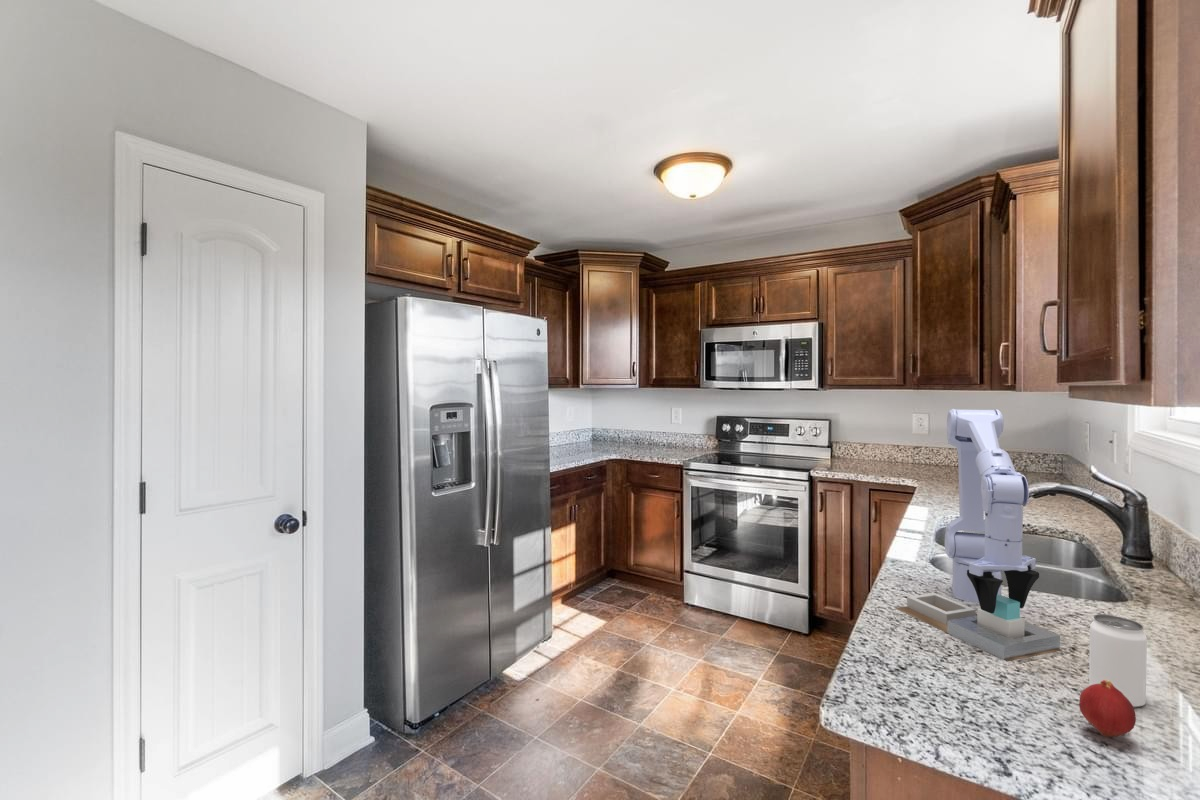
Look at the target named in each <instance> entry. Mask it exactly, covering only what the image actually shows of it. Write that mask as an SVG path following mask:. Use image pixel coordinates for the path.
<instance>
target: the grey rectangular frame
mask: <svg viewBox="0 0 1200 800" xmlns="http://www.w3.org/2000/svg"><path fill="white" fill-rule="evenodd" d="M906 598H907V599H906V600H907V602H906V606H907V607H908V608H911V609H913V610H915V611H917V612H919V613H921V614H924V615H926V616H928V617H930V618H932V619H934V620H937V621H939V622H941V623H943V624H945V625H947V620H952V619H959V618H965V617H971V616H976V614H977V610H976V608H972V607H971V606H968V605H966V604H963V603H961V602H958V601H956V600H953V599H950V598H948V597H945V596H943V595H941V594H938V593H936V592H931V593H926V594H918V595H911V596H907V597H906ZM933 605H936V606H938V607H940V608H943V609H945V610H947V612H946V611H944V610H942V609H939V608H937V607H935V606H933Z"/></svg>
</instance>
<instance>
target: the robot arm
mask: <svg viewBox="0 0 1200 800" xmlns="http://www.w3.org/2000/svg"><path fill="white" fill-rule="evenodd" d="M946 416H947V417H946V439H947V441H948V444H949V445H951V446H953V447H955V448H956V453H957V460H958V465H957V466H958V504H959V506H958V507H959V516H958V517H957V518H955V519H954V520H951V521H950V522H948V523H947V524H946V526H945V534H944V550H945V554H946V555H947V557H948V558H949V559H952V579H951V581H952V583H951V585H952V589H951V591H952V593H951V595H952V596H953V597H955V598H957V599H959V600H962V601H965V602H970V603H974V604H975V603H976V604H979V606H980V609H981V610H984V611H986V612H989V613H994V611H995V607H996V598H997V594H999V595H1002V584H1003V582H1004V580H1002V572H1004V575H1005V579H1006V582H1007V583H1006V584H1007V589H1008V590H1007V591H1008V598H1010V599H1013V600H1016V601H1018V602H1020V609H1024V607H1025V605H1026V602H1027V599H1028V596H1029V594H1030V591H1031V588H1033V586H1034V584H1035V583H1036V582H1037V580H1038V579H1039V578H1040V572H1038V571H1036V567H1037V566H1036V565H1037V564H1036V561H1037V560H1036V558H1035V557H1031V556H1028V555H1023V538H1024V537H1023V534H1024V533H1023V531H1024V530H1023V528H1024V527H1023V525H1024V524H1023V523H1024V522H1023V521H1024V508H1023V507H1026V506H1027V504H1028V502H1029V496H1030V490H1029V489H1030V488H1029V484H1028V480H1027V477H1026V476H1025V475H1024V474H1022V473H1021V472H1018V471H1016V469H1015V465H1014V464H1013V462H1012V461H1013V460H1012V459H1011V456H1010V454H1009V453H1008V451H1006V450H1004V449H1002V448H1000V447H1001V446H1000V443H999V438H1000V437H1001V435H1002V434H1003V433H1004V432H1003V431H1004V416H1003V413H1002V412H1001V411H1000V410H999V409H956V408H951V409H950V410H949V411H948V413H947V415H946ZM963 531H964V532H963ZM974 532H975V533H974ZM976 532H977V533H976ZM1033 569H1035V570H1033Z"/></svg>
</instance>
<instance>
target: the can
mask: <svg viewBox="0 0 1200 800" xmlns="http://www.w3.org/2000/svg"><path fill="white" fill-rule="evenodd" d="M1147 640H1148V639H1147V636H1146V634H1145V632H1144V626H1143V625H1142V624H1140V623H1139V622H1137V621H1136V620H1133V619H1129V618H1126V617H1123V616H1118V615H1114V614H1104V613H1100V614H1095V615H1093V621H1092V622H1091V623H1090V625H1089V657H1088V658H1089V660H1088V661H1089V667H1088V668H1089V673H1088V675H1089V677H1088V678H1089V679H1088V680H1089V681H1088V684H1089V685H1088V687H1089V686H1091V685H1093V684H1100V683H1101V681H1102V680H1108V681H1110V682H1111V683H1112V684H1113V686H1114V687H1115V688H1116V689H1118V690H1119V691H1120V692H1122V693H1123V695H1124V696H1125V697H1126V698H1127V699H1128V700H1129V701H1130V703H1131V704H1132V706H1133V708H1140V707H1142V706H1145V705H1146V701H1147V700H1146V699H1147V670H1148V669H1147V668H1148V667H1147V666H1148V665H1147V664H1148V663H1147V662H1148V661H1147V659H1148V657H1147V656H1148V641H1147Z"/></svg>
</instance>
